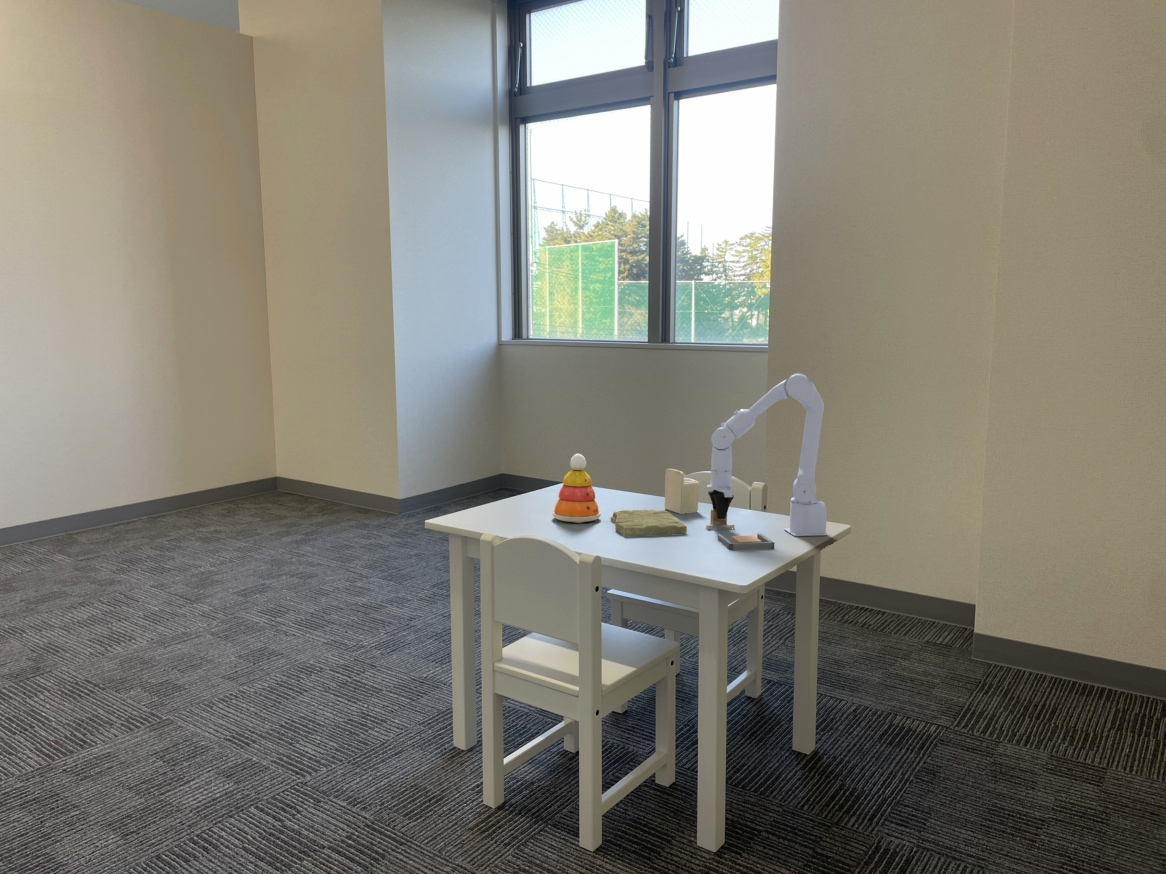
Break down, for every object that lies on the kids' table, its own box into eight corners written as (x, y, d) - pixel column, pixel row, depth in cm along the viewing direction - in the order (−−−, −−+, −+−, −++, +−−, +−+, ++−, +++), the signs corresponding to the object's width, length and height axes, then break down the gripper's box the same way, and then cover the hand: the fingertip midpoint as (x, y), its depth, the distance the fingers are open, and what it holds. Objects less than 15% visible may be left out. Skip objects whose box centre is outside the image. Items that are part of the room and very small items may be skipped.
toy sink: (700, 512, 266) (701, 470, 264) (680, 514, 262) (681, 472, 260) (683, 507, 273) (684, 466, 271) (664, 509, 269) (665, 467, 268)
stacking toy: (581, 527, 245) (581, 459, 242) (542, 520, 253) (542, 454, 251) (610, 518, 256) (611, 453, 253) (572, 512, 264) (572, 449, 262)
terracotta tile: (753, 542, 231) (753, 535, 230) (761, 548, 225) (761, 541, 224) (731, 543, 230) (731, 536, 229) (739, 549, 224) (739, 541, 224)
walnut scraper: (730, 526, 247) (731, 509, 247) (734, 529, 244) (734, 511, 243) (703, 527, 246) (704, 509, 246) (706, 529, 243) (707, 512, 242)
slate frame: (760, 540, 233) (760, 533, 233) (774, 550, 223) (774, 542, 223) (717, 542, 231) (717, 534, 231) (729, 551, 221) (729, 544, 221)
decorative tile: (666, 519, 257) (667, 508, 257) (687, 536, 238) (687, 523, 237) (605, 522, 253) (605, 510, 253) (621, 539, 234) (621, 526, 233)
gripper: (700, 466, 250) (699, 512, 252) (715, 474, 236) (714, 523, 238) (723, 465, 251) (722, 511, 253) (740, 474, 237) (738, 522, 239)
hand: (720, 517), depth 245 cm, fingers closed on walnut scraper, 2 cm apart
